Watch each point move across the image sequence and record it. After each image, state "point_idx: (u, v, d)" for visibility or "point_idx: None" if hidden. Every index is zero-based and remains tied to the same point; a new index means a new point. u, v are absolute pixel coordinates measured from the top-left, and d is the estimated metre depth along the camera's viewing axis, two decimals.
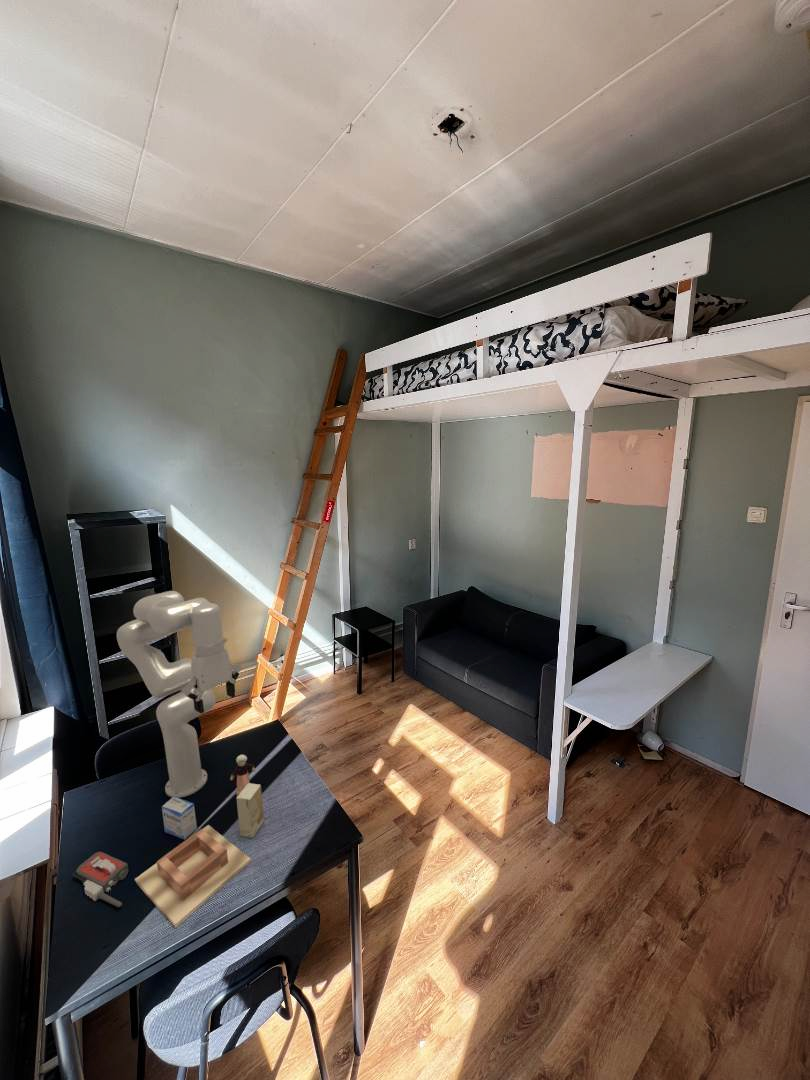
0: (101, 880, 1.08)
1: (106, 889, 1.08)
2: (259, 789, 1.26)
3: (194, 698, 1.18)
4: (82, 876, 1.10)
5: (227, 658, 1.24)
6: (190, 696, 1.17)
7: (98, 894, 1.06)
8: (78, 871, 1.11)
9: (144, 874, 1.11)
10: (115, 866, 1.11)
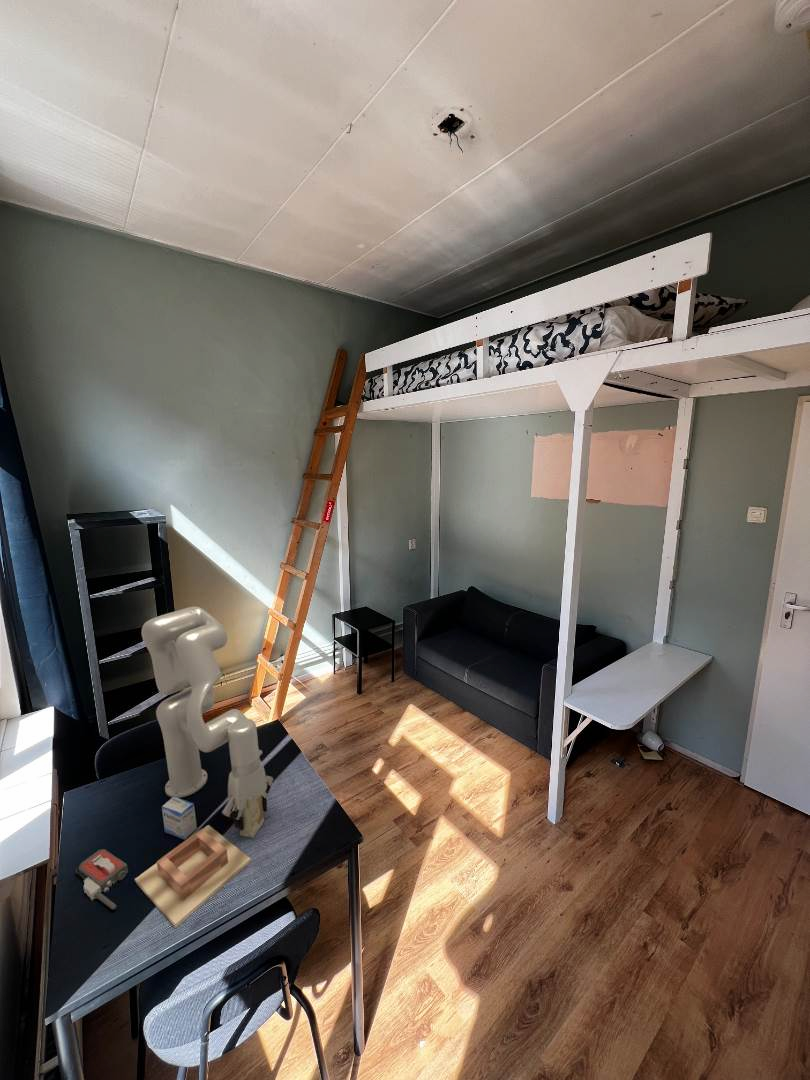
0: (100, 879, 1.09)
1: (104, 889, 1.08)
2: None
3: (235, 817, 1.19)
4: (83, 873, 1.11)
5: (263, 772, 1.25)
6: (231, 816, 1.18)
7: (95, 894, 1.06)
8: (80, 868, 1.12)
9: (144, 874, 1.11)
10: (114, 866, 1.11)
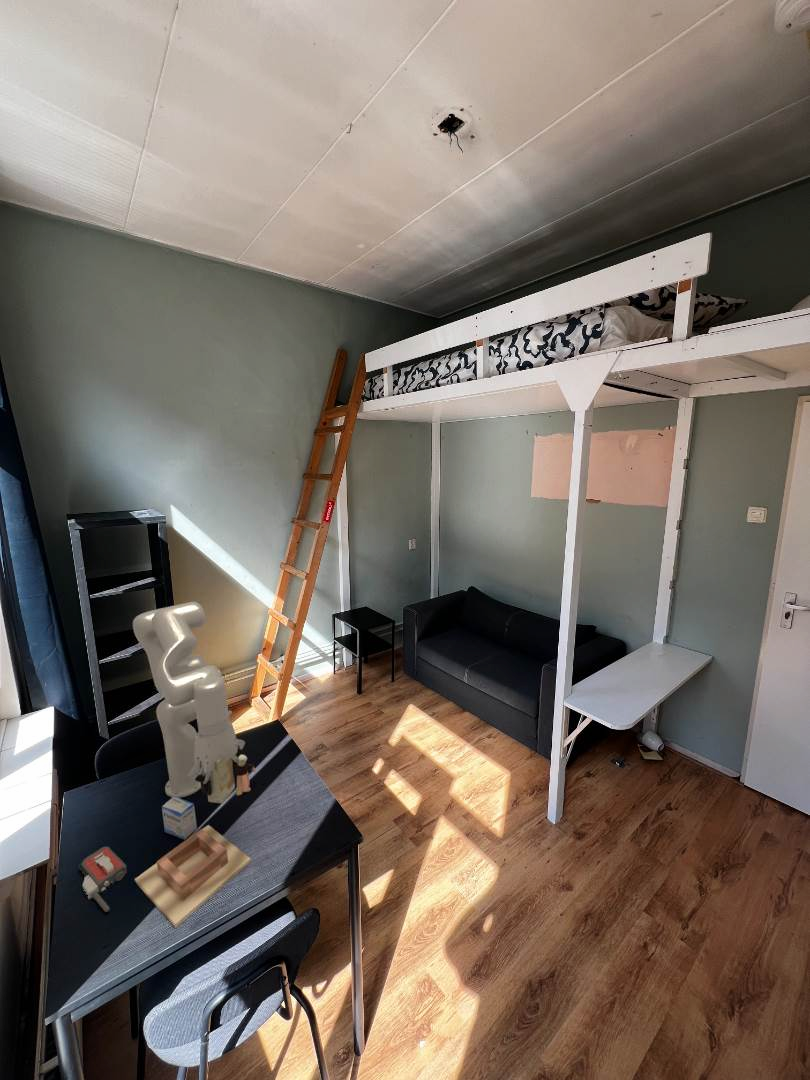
0: (98, 878, 1.09)
1: (101, 889, 1.08)
2: None
3: (202, 780, 1.11)
4: (85, 870, 1.12)
5: (232, 733, 1.16)
6: (197, 779, 1.10)
7: (92, 893, 1.06)
8: (83, 864, 1.13)
9: (144, 874, 1.11)
10: (113, 866, 1.11)
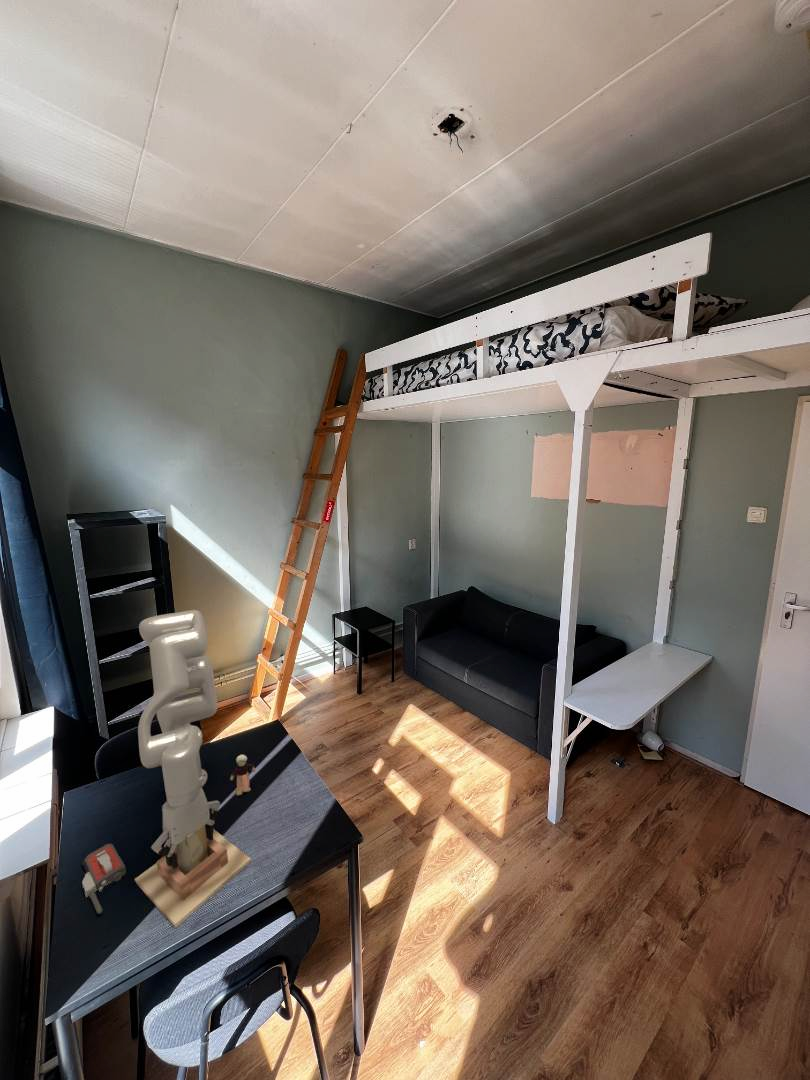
0: (97, 877, 1.09)
1: (98, 888, 1.08)
2: None
3: (165, 854, 1.05)
4: (87, 866, 1.13)
5: (204, 801, 1.11)
6: (161, 853, 1.04)
7: (89, 892, 1.07)
8: (86, 860, 1.14)
9: (144, 874, 1.11)
10: (112, 866, 1.11)
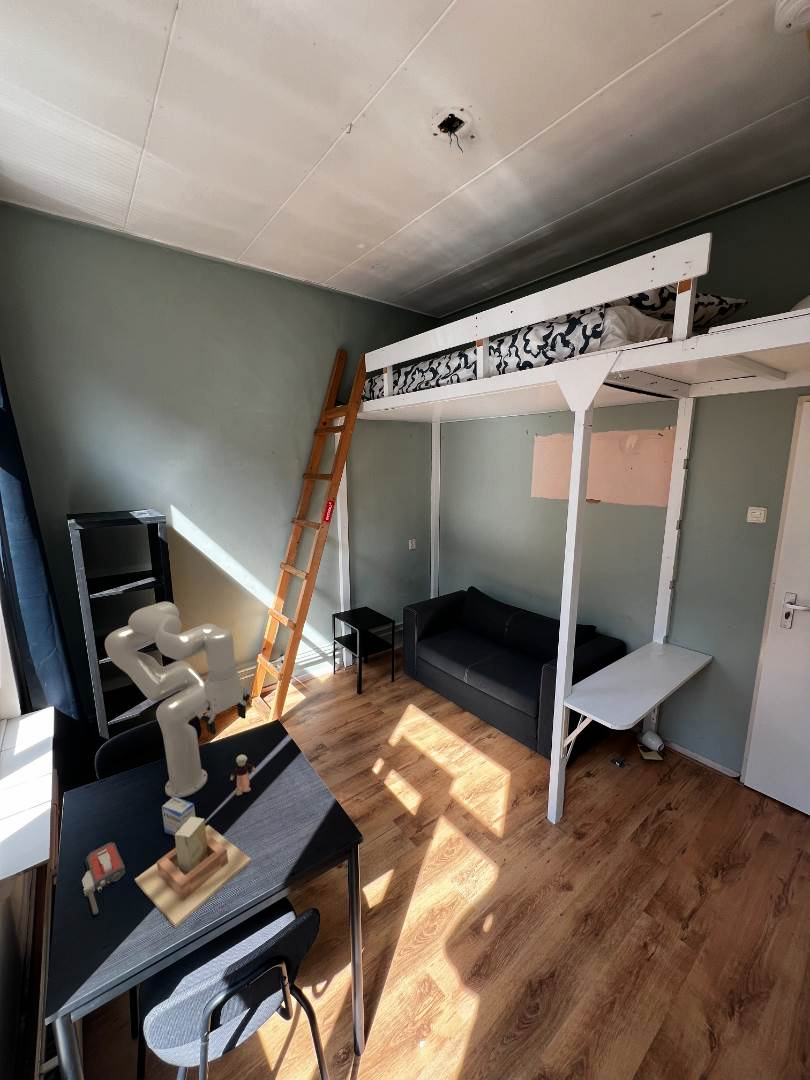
0: (96, 876, 1.09)
1: (97, 888, 1.08)
2: (202, 824, 1.13)
3: (206, 720, 1.23)
4: (88, 864, 1.14)
5: (239, 681, 1.29)
6: (203, 718, 1.22)
7: (88, 891, 1.07)
8: (88, 858, 1.15)
9: (144, 874, 1.11)
10: (111, 866, 1.11)
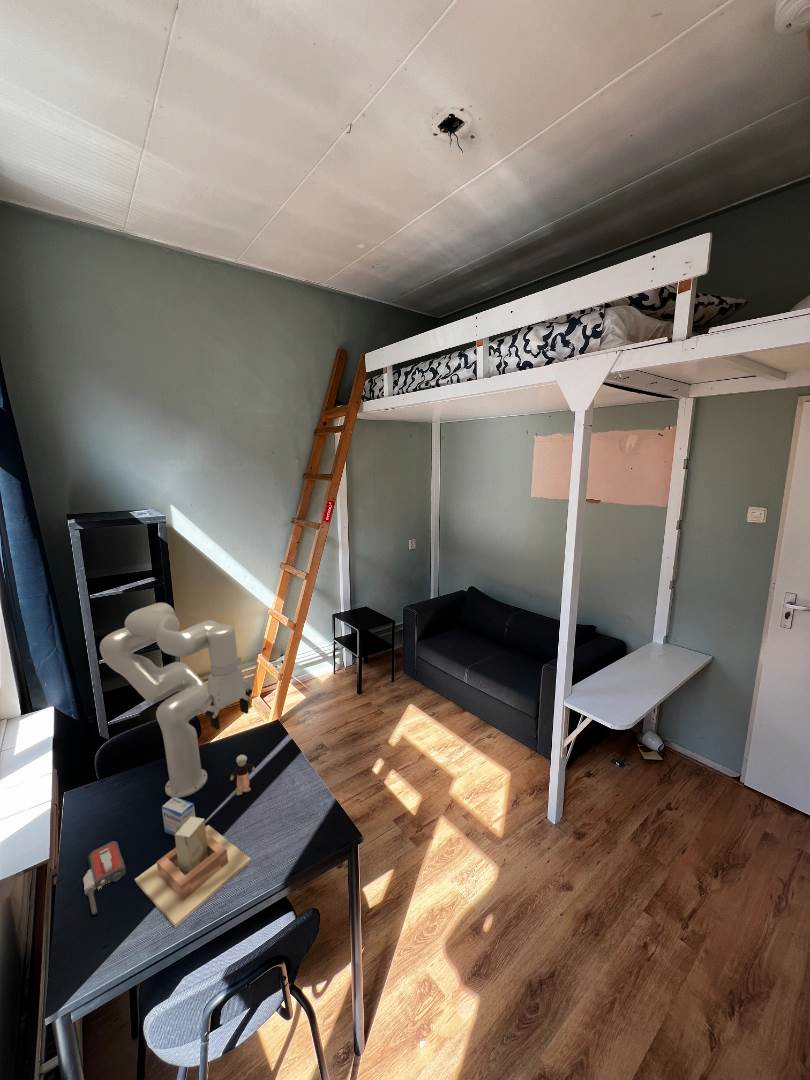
0: (97, 875, 1.10)
1: (97, 887, 1.08)
2: (202, 824, 1.13)
3: (211, 715, 1.24)
4: (90, 863, 1.14)
5: (241, 676, 1.30)
6: (207, 713, 1.23)
7: (88, 890, 1.07)
8: (90, 856, 1.16)
9: (144, 874, 1.11)
10: (112, 866, 1.11)
